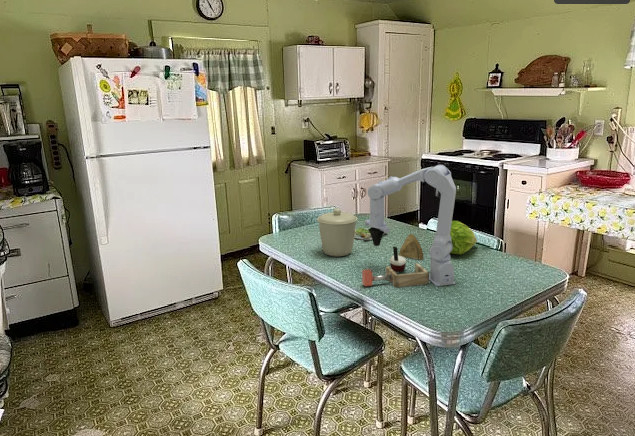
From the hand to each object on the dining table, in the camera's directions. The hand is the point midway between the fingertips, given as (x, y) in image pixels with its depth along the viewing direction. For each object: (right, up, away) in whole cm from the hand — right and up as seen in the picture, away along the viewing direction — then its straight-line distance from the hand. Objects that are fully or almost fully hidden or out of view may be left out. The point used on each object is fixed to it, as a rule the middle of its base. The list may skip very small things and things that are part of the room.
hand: (376, 245), depth 188 cm
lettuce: (+39, -4, +20) cm, 44 cm away
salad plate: (+2, +2, +47) cm, 47 cm away
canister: (-15, -5, +22) cm, 27 cm away
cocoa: (+8, -11, -1) cm, 13 cm away
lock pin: (-2, -13, -14) cm, 20 cm away
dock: (+10, -13, -10) cm, 19 cm away
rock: (+17, -6, +14) cm, 23 cm away
